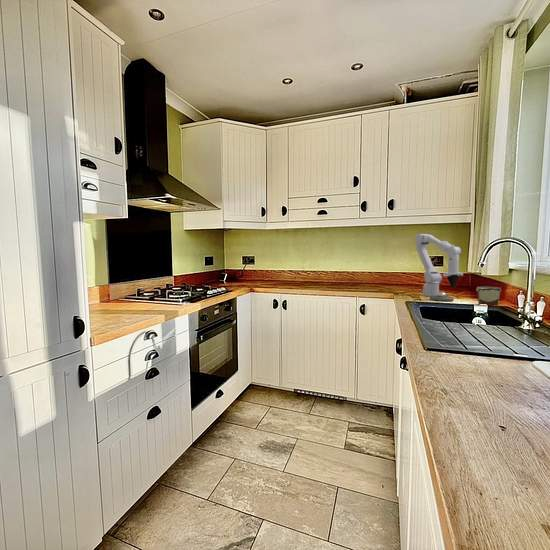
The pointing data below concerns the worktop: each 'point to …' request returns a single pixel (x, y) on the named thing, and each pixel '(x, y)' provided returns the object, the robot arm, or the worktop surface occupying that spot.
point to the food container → (488, 295)
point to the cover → (441, 294)
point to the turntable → (442, 298)
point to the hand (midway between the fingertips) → (452, 287)
